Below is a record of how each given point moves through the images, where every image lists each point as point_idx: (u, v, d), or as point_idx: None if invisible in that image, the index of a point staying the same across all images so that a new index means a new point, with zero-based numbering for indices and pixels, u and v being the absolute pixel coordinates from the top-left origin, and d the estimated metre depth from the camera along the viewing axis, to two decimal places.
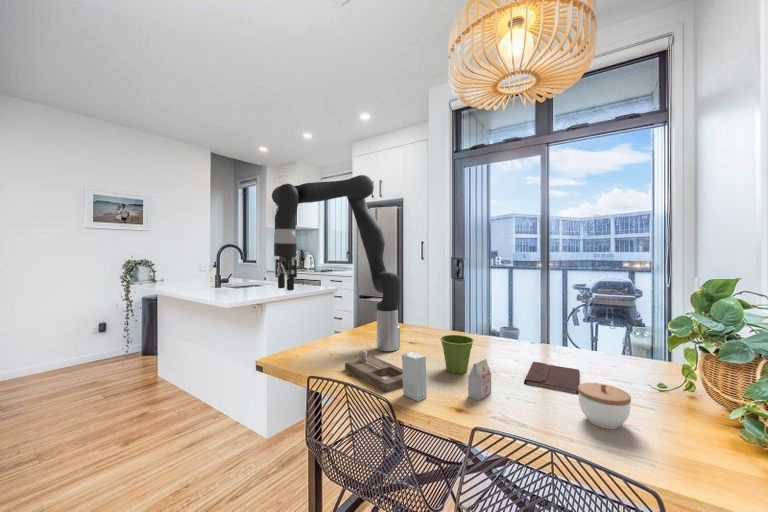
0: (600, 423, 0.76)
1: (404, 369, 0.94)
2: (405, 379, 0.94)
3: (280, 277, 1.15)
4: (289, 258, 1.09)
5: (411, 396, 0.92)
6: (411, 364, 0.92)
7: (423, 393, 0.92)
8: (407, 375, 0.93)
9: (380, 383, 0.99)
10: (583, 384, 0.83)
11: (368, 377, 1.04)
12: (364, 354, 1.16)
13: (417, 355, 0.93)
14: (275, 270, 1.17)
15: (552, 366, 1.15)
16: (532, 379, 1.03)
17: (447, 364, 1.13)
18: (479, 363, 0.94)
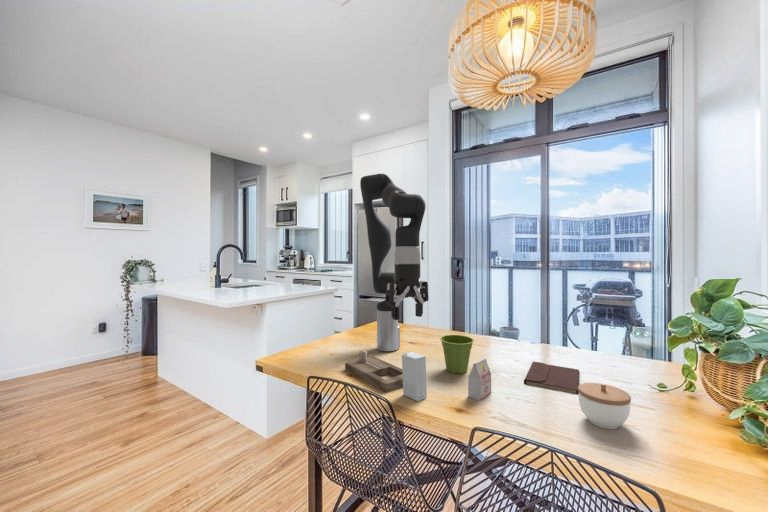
0: (600, 423, 0.76)
1: (404, 369, 0.94)
2: (405, 379, 0.94)
3: None
4: None
5: (411, 396, 0.92)
6: (411, 364, 0.92)
7: (423, 393, 0.92)
8: (407, 375, 0.93)
9: (380, 383, 0.99)
10: (583, 384, 0.83)
11: (368, 377, 1.04)
12: (364, 354, 1.16)
13: (417, 355, 0.93)
14: (391, 298, 0.89)
15: (552, 366, 1.15)
16: (532, 379, 1.03)
17: (447, 364, 1.13)
18: (479, 363, 0.94)
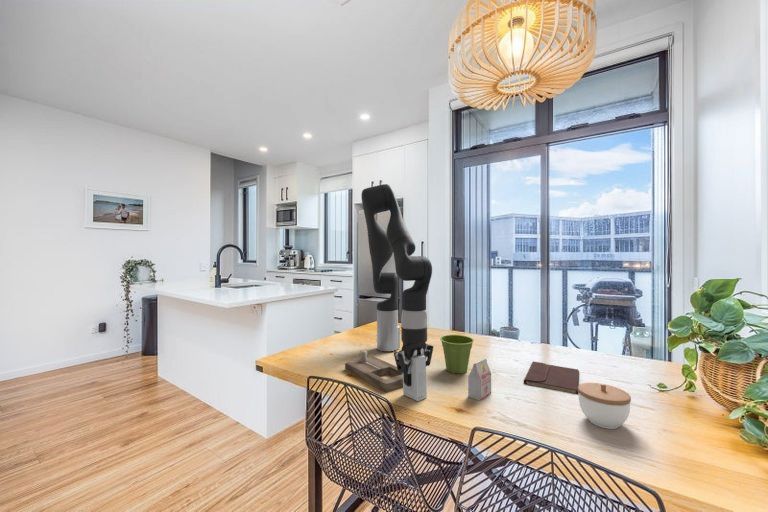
0: (600, 423, 0.76)
1: None
2: None
3: None
4: None
5: (411, 396, 0.92)
6: None
7: (423, 393, 0.92)
8: None
9: (380, 383, 0.99)
10: (583, 384, 0.83)
11: (368, 377, 1.04)
12: (364, 354, 1.16)
13: (418, 355, 0.93)
14: (402, 367, 0.90)
15: (552, 366, 1.15)
16: (532, 379, 1.03)
17: (447, 364, 1.13)
18: (479, 363, 0.94)
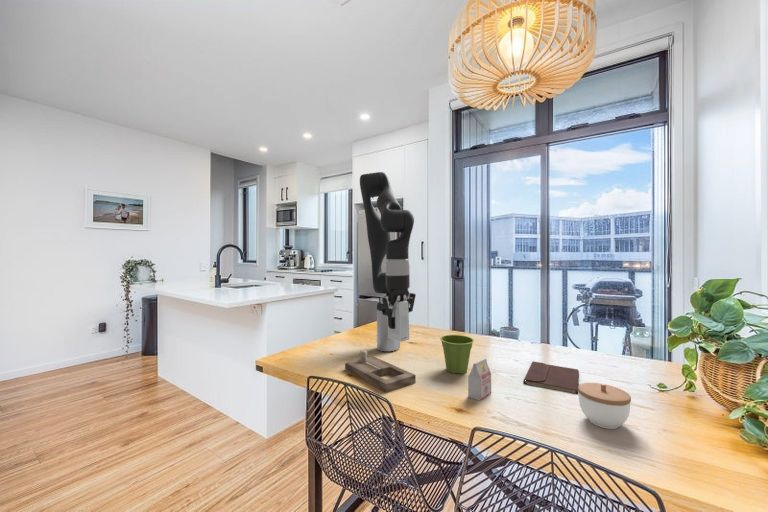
0: (600, 423, 0.76)
1: None
2: None
3: None
4: None
5: (395, 338, 1.01)
6: None
7: (406, 335, 1.01)
8: None
9: (380, 383, 0.99)
10: (583, 384, 0.83)
11: (368, 377, 1.04)
12: (364, 354, 1.16)
13: (401, 301, 1.01)
14: (387, 311, 0.98)
15: (551, 366, 1.15)
16: (531, 379, 1.03)
17: (447, 364, 1.13)
18: (479, 363, 0.94)
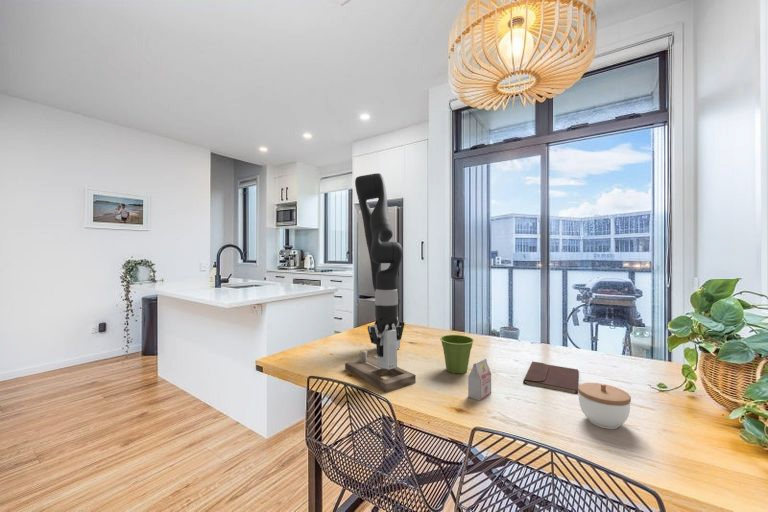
0: (600, 423, 0.76)
1: None
2: None
3: None
4: None
5: (383, 365, 1.04)
6: None
7: (394, 363, 1.04)
8: None
9: (380, 383, 0.99)
10: (583, 384, 0.83)
11: (368, 377, 1.04)
12: (364, 354, 1.16)
13: (389, 330, 1.05)
14: (375, 339, 1.01)
15: (551, 366, 1.15)
16: (531, 379, 1.03)
17: (447, 364, 1.13)
18: (479, 363, 0.94)
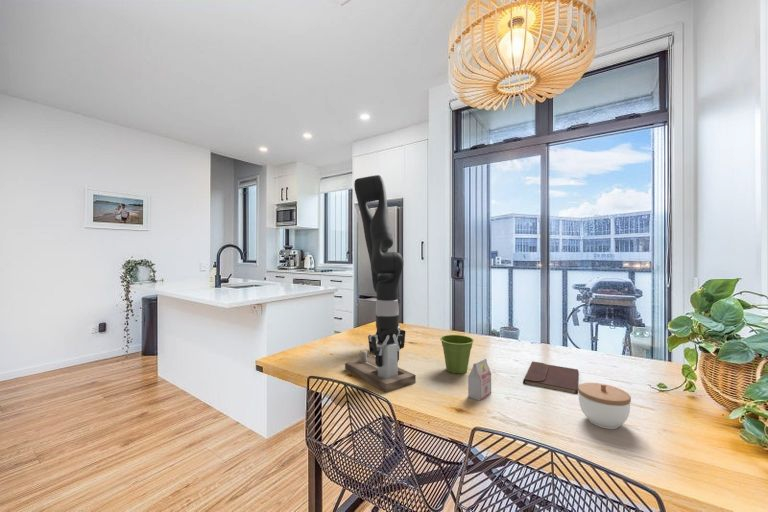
0: (600, 423, 0.76)
1: None
2: None
3: None
4: None
5: None
6: (384, 351, 1.04)
7: None
8: None
9: (380, 383, 0.99)
10: (583, 384, 0.83)
11: (368, 377, 1.04)
12: (364, 354, 1.16)
13: (390, 344, 1.05)
14: (374, 349, 1.01)
15: (551, 366, 1.15)
16: (531, 379, 1.03)
17: (447, 364, 1.13)
18: (479, 363, 0.94)
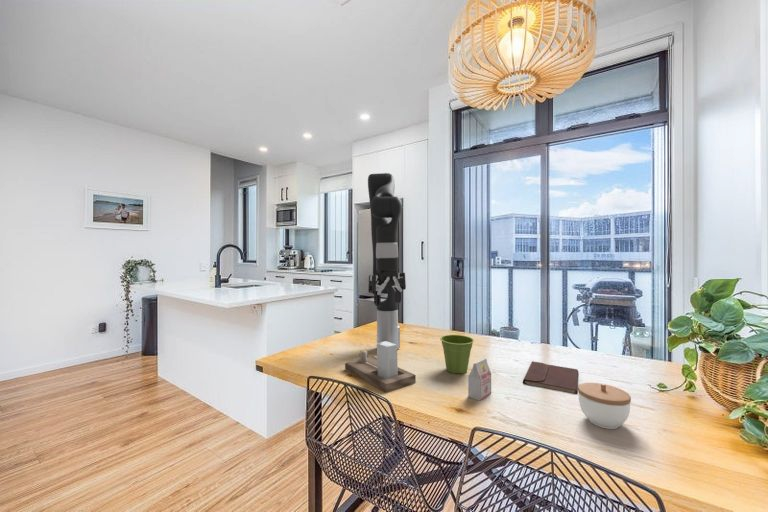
0: (600, 423, 0.76)
1: (378, 356, 1.06)
2: (379, 365, 1.06)
3: None
4: None
5: None
6: (384, 351, 1.04)
7: None
8: (380, 362, 1.05)
9: (380, 383, 0.99)
10: (583, 384, 0.83)
11: (368, 377, 1.04)
12: (364, 354, 1.16)
13: (390, 344, 1.05)
14: (373, 288, 1.04)
15: (551, 366, 1.15)
16: (531, 379, 1.03)
17: (447, 364, 1.13)
18: (479, 363, 0.94)
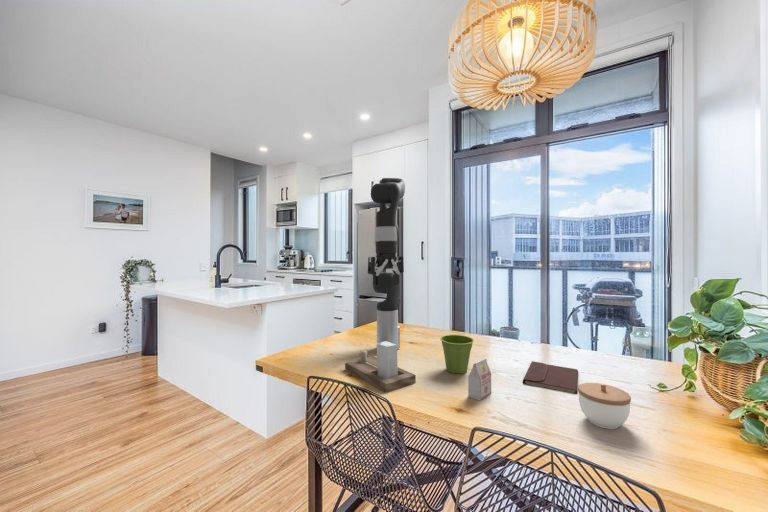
0: (600, 423, 0.76)
1: (378, 356, 1.06)
2: (379, 365, 1.06)
3: None
4: None
5: None
6: (384, 351, 1.04)
7: None
8: (380, 362, 1.05)
9: (380, 383, 0.99)
10: (583, 384, 0.83)
11: (368, 377, 1.04)
12: (364, 354, 1.16)
13: (390, 344, 1.05)
14: (372, 268, 1.09)
15: (551, 366, 1.15)
16: (531, 379, 1.03)
17: (447, 364, 1.13)
18: (479, 363, 0.94)
